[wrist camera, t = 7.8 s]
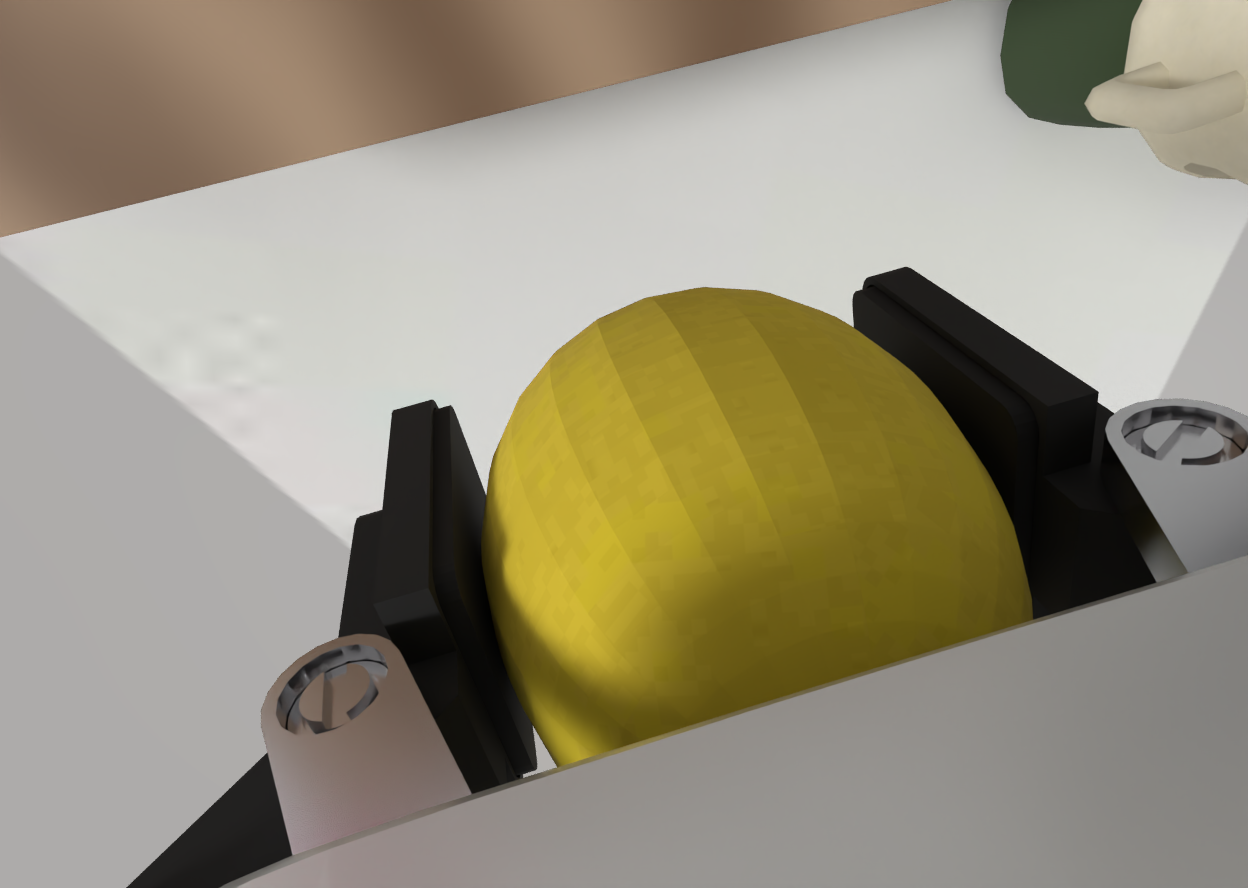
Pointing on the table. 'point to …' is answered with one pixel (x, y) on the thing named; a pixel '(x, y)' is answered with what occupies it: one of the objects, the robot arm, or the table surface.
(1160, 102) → the character mug
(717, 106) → the table surface
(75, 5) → the peg shelf
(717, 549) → the lemon
